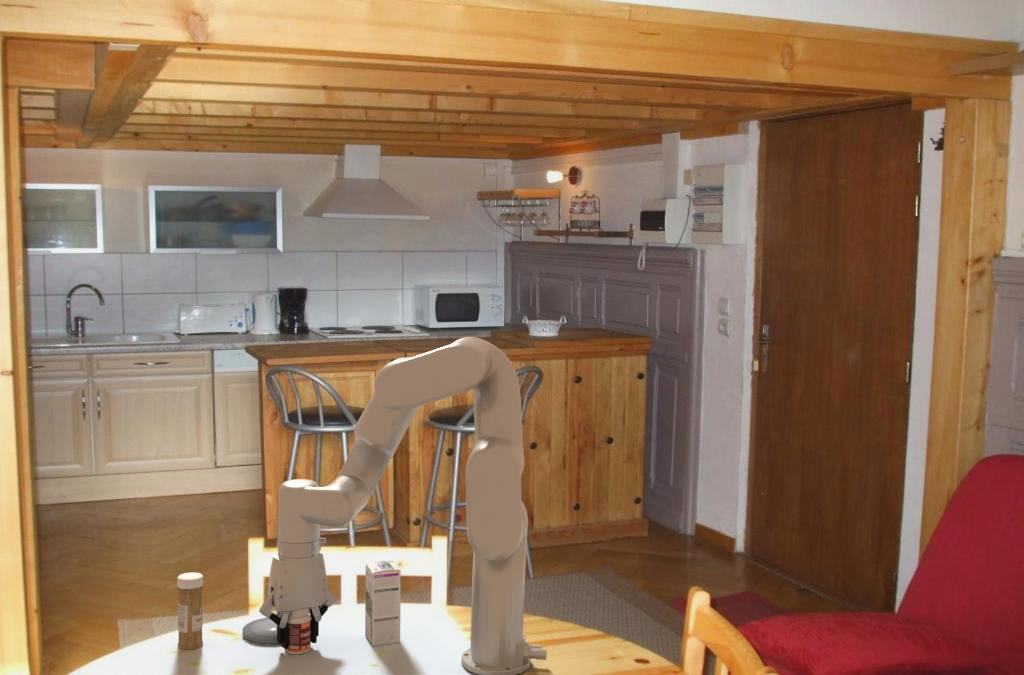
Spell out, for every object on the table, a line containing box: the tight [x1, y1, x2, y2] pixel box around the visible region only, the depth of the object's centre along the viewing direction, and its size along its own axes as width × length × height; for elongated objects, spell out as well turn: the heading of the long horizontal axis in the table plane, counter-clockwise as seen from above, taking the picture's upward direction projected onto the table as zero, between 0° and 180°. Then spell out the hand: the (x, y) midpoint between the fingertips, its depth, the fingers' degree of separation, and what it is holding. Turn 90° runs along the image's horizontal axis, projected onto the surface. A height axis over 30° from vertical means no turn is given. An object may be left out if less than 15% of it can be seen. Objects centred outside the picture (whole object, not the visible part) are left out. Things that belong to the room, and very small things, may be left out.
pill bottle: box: [284, 608, 312, 655], centre depth 191 cm, size 5×5×8 cm
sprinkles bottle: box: [176, 571, 204, 651], centre depth 191 cm, size 5×5×14 cm
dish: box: [242, 617, 281, 646], centre depth 199 cm, size 12×12×1 cm
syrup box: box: [364, 560, 401, 647], centre depth 197 cm, size 6×6×14 cm
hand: (297, 642), depth 191 cm, fingers closed on pill bottle, 4 cm apart
